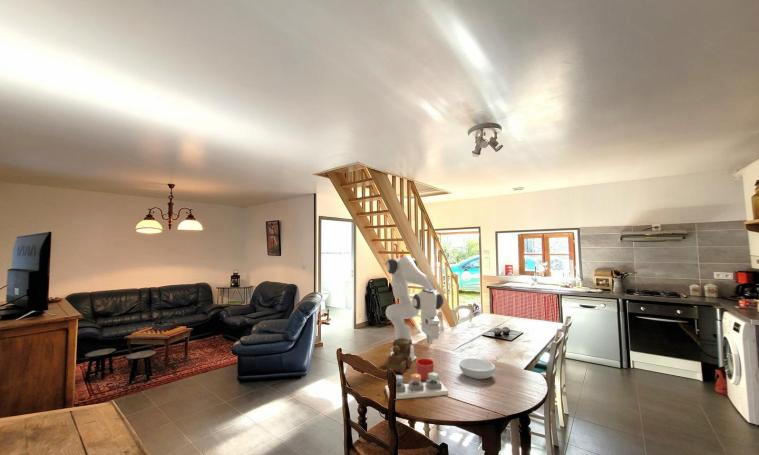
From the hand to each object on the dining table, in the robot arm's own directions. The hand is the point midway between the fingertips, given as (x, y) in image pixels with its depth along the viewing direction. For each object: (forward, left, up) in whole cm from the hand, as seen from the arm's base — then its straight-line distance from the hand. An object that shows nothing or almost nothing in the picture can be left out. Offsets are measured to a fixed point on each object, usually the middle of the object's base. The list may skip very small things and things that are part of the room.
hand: (429, 343), depth 171 cm
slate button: (+2, -19, -21) cm, 28 cm away
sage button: (+2, +1, -21) cm, 21 cm away
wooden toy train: (-31, -11, -25) cm, 41 cm away
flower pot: (-14, +1, -25) cm, 28 cm away
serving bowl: (-12, +33, -25) cm, 43 cm away
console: (+2, -9, -25) cm, 26 cm away
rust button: (+2, -9, -21) cm, 23 cm away
